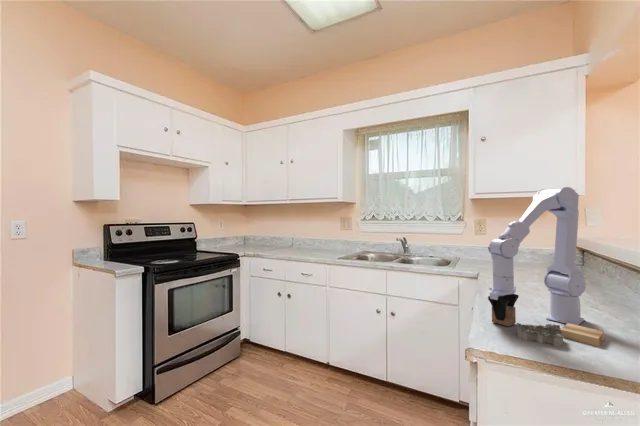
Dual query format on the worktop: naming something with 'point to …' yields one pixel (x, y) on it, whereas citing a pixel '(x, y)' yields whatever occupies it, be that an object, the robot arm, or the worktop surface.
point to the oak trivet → (583, 334)
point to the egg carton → (541, 333)
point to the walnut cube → (506, 317)
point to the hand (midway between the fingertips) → (503, 317)
